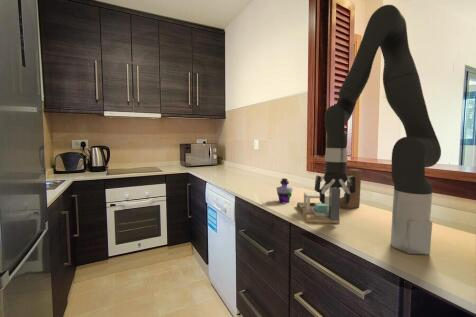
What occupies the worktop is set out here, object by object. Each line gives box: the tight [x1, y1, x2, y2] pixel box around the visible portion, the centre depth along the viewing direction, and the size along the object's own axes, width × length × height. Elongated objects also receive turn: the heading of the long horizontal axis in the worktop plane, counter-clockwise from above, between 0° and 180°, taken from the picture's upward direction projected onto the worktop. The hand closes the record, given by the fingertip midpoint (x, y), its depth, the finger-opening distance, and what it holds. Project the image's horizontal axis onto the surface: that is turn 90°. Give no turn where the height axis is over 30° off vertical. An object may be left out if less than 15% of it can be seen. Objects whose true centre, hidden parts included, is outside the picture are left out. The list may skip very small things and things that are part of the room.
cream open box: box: [303, 191, 329, 211], centre depth 107 cm, size 7×9×6 cm
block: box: [314, 202, 328, 212], centre depth 100 cm, size 4×4×4 cm
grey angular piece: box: [311, 187, 341, 221], centre depth 96 cm, size 11×8×12 cm
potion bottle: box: [276, 178, 293, 204], centre depth 127 cm, size 9×9×12 cm
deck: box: [296, 201, 341, 224], centre depth 106 cm, size 22×12×2 cm, turn 177°
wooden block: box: [340, 168, 362, 210], centre depth 117 cm, size 9×4×18 cm, turn 118°
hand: (334, 203), depth 92 cm, fingers open, 8 cm apart
